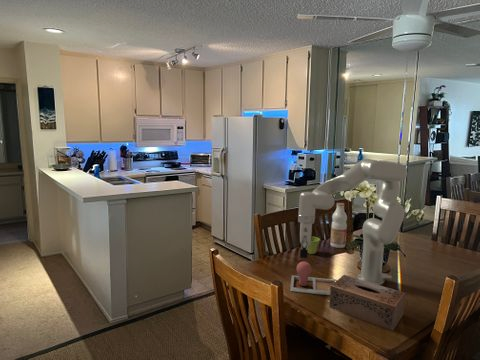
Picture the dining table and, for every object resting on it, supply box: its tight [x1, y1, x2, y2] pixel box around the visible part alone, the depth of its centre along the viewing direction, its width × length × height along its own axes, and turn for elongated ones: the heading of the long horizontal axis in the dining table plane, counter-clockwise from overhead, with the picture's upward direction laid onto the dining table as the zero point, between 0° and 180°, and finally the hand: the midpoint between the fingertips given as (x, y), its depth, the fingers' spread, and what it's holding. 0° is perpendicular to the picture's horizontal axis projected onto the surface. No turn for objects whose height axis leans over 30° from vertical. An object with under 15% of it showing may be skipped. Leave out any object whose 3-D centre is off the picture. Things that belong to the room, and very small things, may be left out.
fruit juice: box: [330, 202, 348, 249], centre depth 218 cm, size 9×9×28 cm
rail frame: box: [290, 275, 338, 296], centre depth 163 cm, size 22×14×2 cm, turn 79°
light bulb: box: [296, 261, 313, 287], centre depth 163 cm, size 7×7×12 cm
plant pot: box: [307, 236, 321, 255], centre depth 208 cm, size 9×9×9 cm
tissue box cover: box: [328, 274, 406, 332], centre depth 142 cm, size 26×14×10 cm, turn 51°
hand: (303, 253), depth 162 cm, fingers open, 9 cm apart
